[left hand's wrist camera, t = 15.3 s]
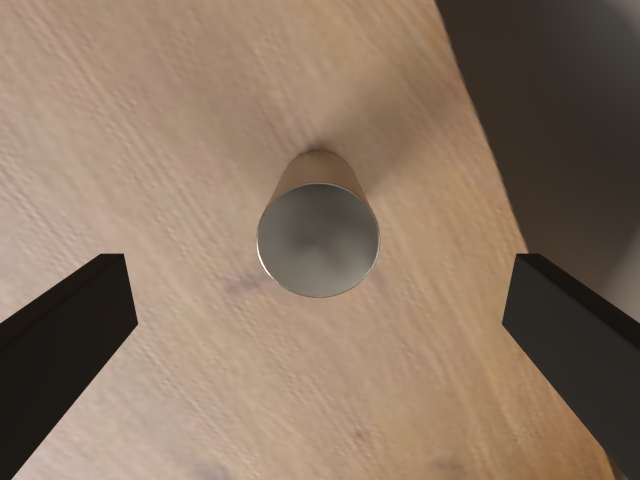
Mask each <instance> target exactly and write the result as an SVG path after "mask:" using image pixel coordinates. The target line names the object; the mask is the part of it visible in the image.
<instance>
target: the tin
mask: <svg viewBox="0 0 640 480" xmlns="http://www.w3.org/2000/svg"><path fill="white" fill-rule="evenodd" d="M256 244H257V251H258V255H259V258H260V260H261V263H262V265H263V267H264V268H265V270H266V271H267V273H268V274H269V275H270V277H271V278H272V279H273V280H274V281H275V282H277V283H278V284H279V285H280V286H282V287H283V288H285V289H287V290H288V291H290V292H293V293H295V294H298V295H301V296H306V297H313V298H325V297H331V296H335V295H339V294H342V293H344V292H346V291H348V290H350V289H352V288H354V287H355V286H356V285H358V284H359V283H360V282H361V281H362V280H363V279H364V278H365V277H366V276H367V275H368V274H369V272H370V271H371V269H372V268H373V266H374V264H375V262H376V260H377V257H378V253H379V248H380V231H379V226H378V223H377V220H376V218H375V215H374V213H373V211H372V209H371V207H370V205H369V203H368V201H367V199H366V197H365V195H364V193H363V191H362V189H361V187H360V185H359V182H358V180H357V178H356V176H355V174H354V172H353V170H352V169H351V167H350V166H349V165H348V163H347V162H346V161H345V160H344V159H342V158H341V157H339V156H338V155H336V154H334V153H331V152H327V151H310V152H307V153H304V154H302V155H300V156H298V157H297V158H295V159H294V160H293V161H292V162H291V163H290V164H289V165H288V167H287V168H286V170H285V171H284V173H283V175H282V177H281V179H280V181H279V183H278V185H277V187H276V189H275V191H274V193H273V195H272V197H271V199H270V201H269V203H268V205H267V206H266V208H265V210H264V212H263V214H262V217H261V219H260V221H259V225H258V228H257V234H256Z"/></svg>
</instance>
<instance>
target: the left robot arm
mask: <svg viewBox="0 0 640 480" xmlns="http://www.w3.org/2000/svg"><path fill="white" fill-rule="evenodd" d="M137 325H138V321H137V316H136V311H135V306H134V301H133V296H132V291H131V287H130V282H129V277H128V272H127V267H126V262H125V258H124V254H100V255H98V256H97V257H95V258H94V259H92V260H91V261H89V262H88V263H87V264H85V265H84V266H82V267H81V268H79V269H78V270H77V271H75V272H74V273H72V274H71V275H69V276H68V277H66V278H65V279H64V280H62V281H61V282H59V283H58V284H56V285H55V286H53V287H52V288H51V289H49V290H48V291H46V292H45V293H43V294H42V295H41V296H39V297H38V298H36V299H35V300H33V301H32V302H30V303H29V304H28V305H26V306H25V307H23V308H22V309H20V310H19V311H17V312H16V313H15V314H13V315H12V316H10V317H9V318H7V319H6V320H5V321H3V322H2V323H0V480H11V479H12V478H13V477H14V476H15V474H16V473H17V472H18V471H19V469H20V468H21V467H22V466H23V465H24V463H25V462H26V461H27V460H28V458H29V457H30V456H31V455H32V454H33V452H34V451H35V450H36V449H37V447H38V446H39V445H40V444H41V443H42V441H43V440H44V439H45V438H46V436H47V435H48V434H49V433H50V431H51V430H52V429H53V428H54V427H55V425H56V424H57V423H58V422H59V420H60V419H61V418H62V417H63V416H64V414H65V413H66V412H67V411H68V409H69V408H70V407H71V406H72V405H73V403H74V402H75V401H76V400H77V398H78V397H79V396H80V395H81V394H82V392H83V391H84V390H85V389H86V387H87V386H88V385H89V384H90V382H91V381H92V380H93V379H94V378H95V376H96V375H97V374H98V373H99V371H100V370H101V369H102V368H103V367H104V365H105V364H106V363H107V362H108V360H109V359H110V358H111V357H112V356H113V354H114V353H115V352H116V351H117V349H118V348H119V347H120V346H121V345H122V343H123V342H124V341H125V340H126V338H127V337H128V336H129V335H130V334H131V332H132V331H133V330H134V329H135V327H136V326H137ZM502 325H503V326H504V327H505V329H506V330H507V331H508V332H509V334H510V335H511V336H512V337H513V338H514V340H515V341H516V342H517V343H518V345H519V346H520V347H521V348H522V349H523V351H524V352H525V353H526V354H527V356H528V357H529V358H530V359H531V360H532V362H533V363H534V364H535V365H536V367H537V368H538V369H539V370H540V371H541V373H542V374H543V375H544V376H545V378H546V379H547V380H548V381H549V382H550V384H551V385H552V386H553V387H554V389H555V390H556V391H557V392H558V394H559V395H560V396H561V397H562V398H563V400H564V401H565V402H566V403H567V405H568V406H569V407H570V408H571V409H572V411H573V412H574V413H575V414H576V416H577V417H578V418H579V419H580V420H581V422H582V423H583V424H584V425H585V427H586V428H587V429H588V430H589V431H590V433H591V434H592V435H593V436H594V438H595V439H596V440H597V441H598V443H599V444H600V445H601V446H602V447H603V449H604V450H605V451H606V452H607V453H608V455H609V456H610V457H611V458H612V460H613V461H614V462H615V463H616V465H617V466H618V467H619V468H620V469H621V471H622V472H623V473H624V474H625V476H626V477H627V478H628V479H629V480H640V323H638V322H637V321H635V320H634V319H633V318H631V317H630V316H628V315H627V314H625V313H624V312H622V311H621V310H620V309H618V308H617V307H615V306H614V305H612V304H611V303H609V302H608V301H607V300H605V299H604V298H602V297H601V296H599V295H598V294H597V293H595V292H594V291H592V290H591V289H589V288H588V287H586V286H585V285H583V284H582V283H581V282H579V281H578V280H576V279H575V278H574V277H572V276H571V275H569V274H568V273H566V272H565V271H563V270H562V269H561V268H559V267H558V266H556V265H555V264H553V263H552V262H551V261H549V260H548V259H546V258H545V257H543V256H542V255H540V254H516V258H515V262H514V267H513V272H512V277H511V282H510V287H509V291H508V296H507V301H506V306H505V311H504V316H503V321H502Z"/></svg>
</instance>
